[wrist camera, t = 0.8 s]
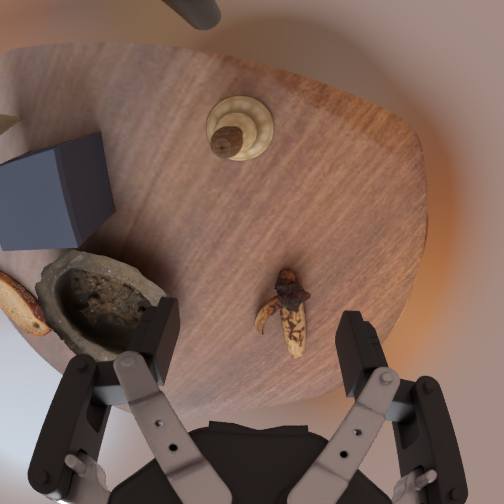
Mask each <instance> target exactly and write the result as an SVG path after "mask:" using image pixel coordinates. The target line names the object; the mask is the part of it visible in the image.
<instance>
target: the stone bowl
mask: <svg viewBox="0 0 504 504" xmlns="http://www.w3.org/2000/svg"><path fill="white" fill-rule="evenodd" d="M41 277H42V279H41V282H38V283H36V285H35V290H36V294H37V296H38V302H39V303H40V305H41V308H40V309H41V310H42V311H43V314H44V317H45V324H46V325H47V326H48V327H49V328H51V329H54V330H53V331H54V332H55V333H57V334H58V336H59V337H60V339H61V340H64V342H65V344H66V345H67V346H68V347H69V348H70V350H72V351H73V352H74V353H75V354H76V355H79V354H88V355H90V356H92V357H93V358H94V359H95V361H96V362H101V361H112V360H115V358H116V357H117V356H118V355H119V354H121V353H123V352H126V350H127V348H128V345H129V343H130V341H131V338H132V336H133V334H134V332H135V329H136V328H137V325H138V323H139V322H140V318H141V316H142V314H143V312H144V311H145V310H146V309H147V308H148V307H149V306H157V305H158V303H159V300H160V298H161V297H162V296H163V297H168V295H167V294H166V293H165V292H164V291H163V290H162V289H161V288H159V287H158V286H157V285H156V284H154V283H153V282H152V281H150V280H148V279H146V278H145V277H144V276H143V275H142V274H141V273H140V272H139V270H138V269H137V268H135V267H132V266H130V265H128V264H125V263H122V262H120V261H117V260H114V259H112V258H109V257H107V256H102V255H100V256H98V255H94V254H92V253H87V252H84V251H83V252H79V251H76V250H74V249H72V250H70V251H68V252H65V253H63V254H62V255H61V256H60V257H59V258H58V259H57V260H55V261H54V262H53V263H51V264H49V265H47V266H46V267H44V270H43V271H42V273H41Z"/></svg>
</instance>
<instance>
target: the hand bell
mask: <svg viewBox="0 0 504 504" xmlns="http://www.w3.org/2000/svg"><path fill="white" fill-rule="evenodd" d="M206 132H207V137H208V140H209V142H210V146H211V149H212V151H213V153H214V154H215V155H217V156H219V157H221V158H228V159H231V160H236V161H244V160H249V159H253V158H255V157H257V156H259V155H260V154H261V153H263V152H264V151H265V150H266V149H267V148H268V146H269V145H270V143H271V141H272V138H273V134H274V122H273V118H272V116H271V114H270V112H269V110H268V109H267V108H266V107H265V106H264V105H263V104H262V103H261V102H259V101H258V100H256V99H254V98H251V97H247V96H233V97H229V98H227V99H224V100H223V101H221V102H219V103H218V104H217V105H216V106H215V107H214V108H213V110H212V111H211V113H210V114H209V117H208V120H207V124H206Z"/></svg>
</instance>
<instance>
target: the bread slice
mask: <svg viewBox="0 0 504 504" xmlns="http://www.w3.org/2000/svg"><path fill="white" fill-rule="evenodd" d="M0 307H1V309H2V310H3V311H4V312H5V313H6V314H7V315H8V316H10V317H11V319H13V320H14V321H15V322H16V323H17V324H18V325H19V326H20V327H21V328H22V329H23V330H24V331H26V333H28V334H32V335H35V336H43V335H46V334H48V333H49V332H51V331H52V329H51V328H49V327H48V326H47V325H46V324H45V317H44V314H43V311H42V310H41V309H40V308H41V306H40V304H39V303H38V302H37V300H36V299H35V298H34V297H33V296H32V295H31V294H30V293H29V292H28V291H27V290H26V289H25V288H24V287H23V286H22V285H21V284H19V283H17V282H15V281H14V280H13V279H12V278H11V277H10V276H8V275H7V274H5V273H3V272H1V271H0Z"/></svg>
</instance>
